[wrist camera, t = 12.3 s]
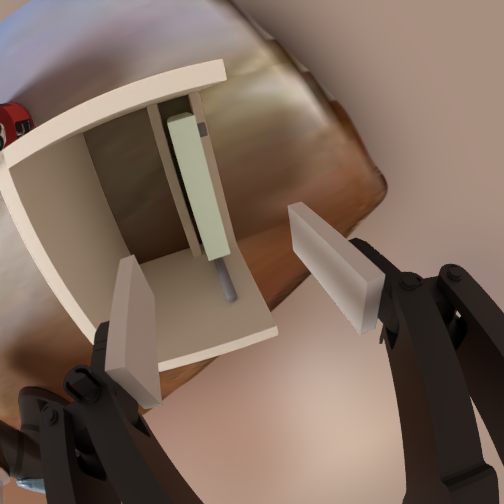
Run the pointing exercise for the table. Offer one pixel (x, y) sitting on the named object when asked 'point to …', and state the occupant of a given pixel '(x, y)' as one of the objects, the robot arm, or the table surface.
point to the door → (198, 182)
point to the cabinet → (108, 234)
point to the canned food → (13, 123)
